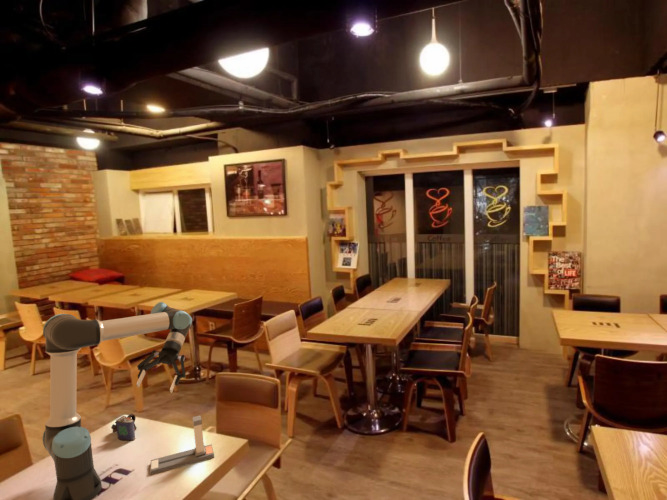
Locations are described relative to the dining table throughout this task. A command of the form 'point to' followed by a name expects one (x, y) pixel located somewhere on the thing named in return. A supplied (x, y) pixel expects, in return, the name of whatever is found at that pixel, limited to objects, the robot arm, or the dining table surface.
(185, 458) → the switch board
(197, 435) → the lever
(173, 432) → the dining table surface
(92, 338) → the robot arm
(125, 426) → the flask
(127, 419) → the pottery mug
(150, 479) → the dining table surface
